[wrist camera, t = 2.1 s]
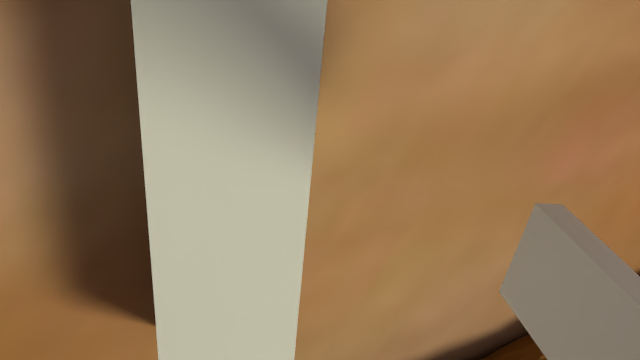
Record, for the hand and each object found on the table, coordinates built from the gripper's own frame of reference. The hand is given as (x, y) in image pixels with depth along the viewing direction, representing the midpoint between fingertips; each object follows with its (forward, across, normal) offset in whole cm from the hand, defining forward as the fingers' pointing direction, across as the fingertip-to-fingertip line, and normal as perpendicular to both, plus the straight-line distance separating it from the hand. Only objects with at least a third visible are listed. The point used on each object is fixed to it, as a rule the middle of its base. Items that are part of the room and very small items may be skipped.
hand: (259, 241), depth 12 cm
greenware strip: (+6, -1, 0) cm, 6 cm away
